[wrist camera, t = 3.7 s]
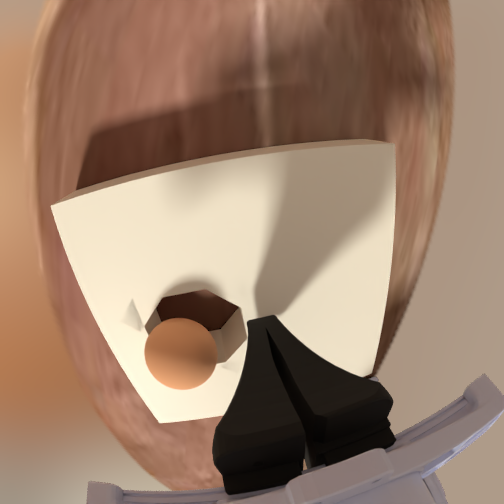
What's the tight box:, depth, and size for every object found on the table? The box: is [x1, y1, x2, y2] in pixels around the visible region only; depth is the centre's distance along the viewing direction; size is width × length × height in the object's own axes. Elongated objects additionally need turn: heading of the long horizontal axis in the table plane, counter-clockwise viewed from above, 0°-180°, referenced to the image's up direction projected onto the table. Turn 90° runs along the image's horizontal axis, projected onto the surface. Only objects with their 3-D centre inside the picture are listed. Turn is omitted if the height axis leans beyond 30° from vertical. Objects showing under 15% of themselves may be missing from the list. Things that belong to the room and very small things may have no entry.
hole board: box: [51, 139, 396, 423], centre depth 16 cm, size 16×16×3 cm
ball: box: [144, 318, 218, 390], centre depth 13 cm, size 4×4×4 cm
